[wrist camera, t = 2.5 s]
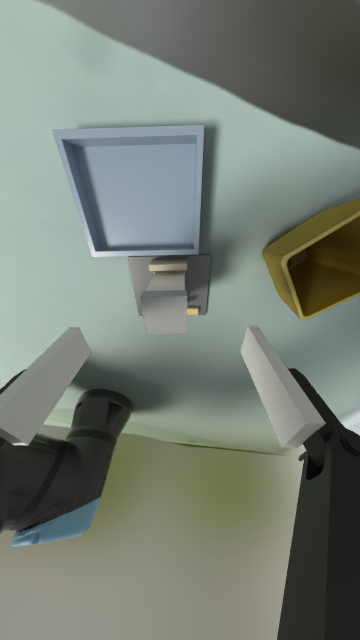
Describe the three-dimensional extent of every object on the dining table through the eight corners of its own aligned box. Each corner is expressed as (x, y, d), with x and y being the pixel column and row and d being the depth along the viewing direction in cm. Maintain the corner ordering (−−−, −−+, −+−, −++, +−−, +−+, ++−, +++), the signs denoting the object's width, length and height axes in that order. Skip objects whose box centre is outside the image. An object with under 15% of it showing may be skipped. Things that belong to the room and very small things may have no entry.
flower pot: (313, 199, 19) (402, 185, 11) (324, 259, 23) (396, 279, 15) (245, 245, 22) (280, 259, 14) (266, 292, 25) (301, 322, 18)
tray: (100, 253, 22) (92, 256, 20) (68, 141, 16) (52, 129, 14) (196, 251, 22) (198, 254, 20) (201, 137, 16) (204, 124, 14)
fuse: (157, 296, 25) (146, 333, 17) (154, 268, 23) (140, 297, 14) (184, 295, 25) (186, 333, 17) (184, 268, 23) (187, 296, 14)
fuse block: (139, 314, 28) (135, 325, 25) (128, 256, 22) (120, 261, 19) (205, 313, 28) (208, 324, 25) (210, 254, 22) (214, 259, 19)
